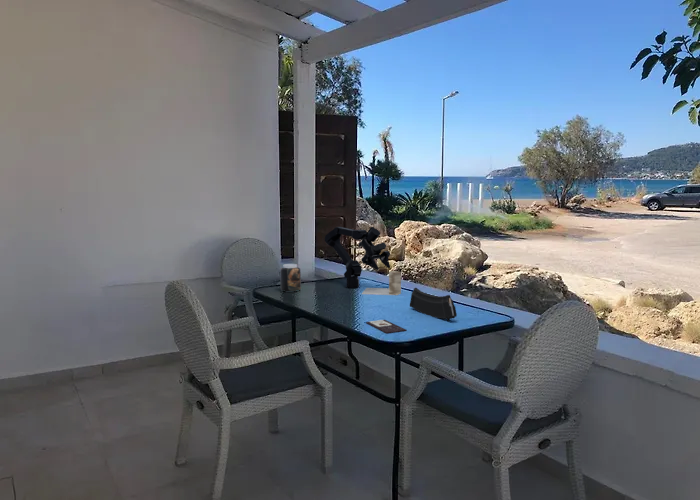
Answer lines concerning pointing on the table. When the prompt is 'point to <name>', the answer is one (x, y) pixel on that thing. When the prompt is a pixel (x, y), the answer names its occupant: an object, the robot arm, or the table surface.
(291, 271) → the jar
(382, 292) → the rubber mat
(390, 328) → the chocolate bar
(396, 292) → the birch block
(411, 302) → the magazine
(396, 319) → the table surface
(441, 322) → the table surface
